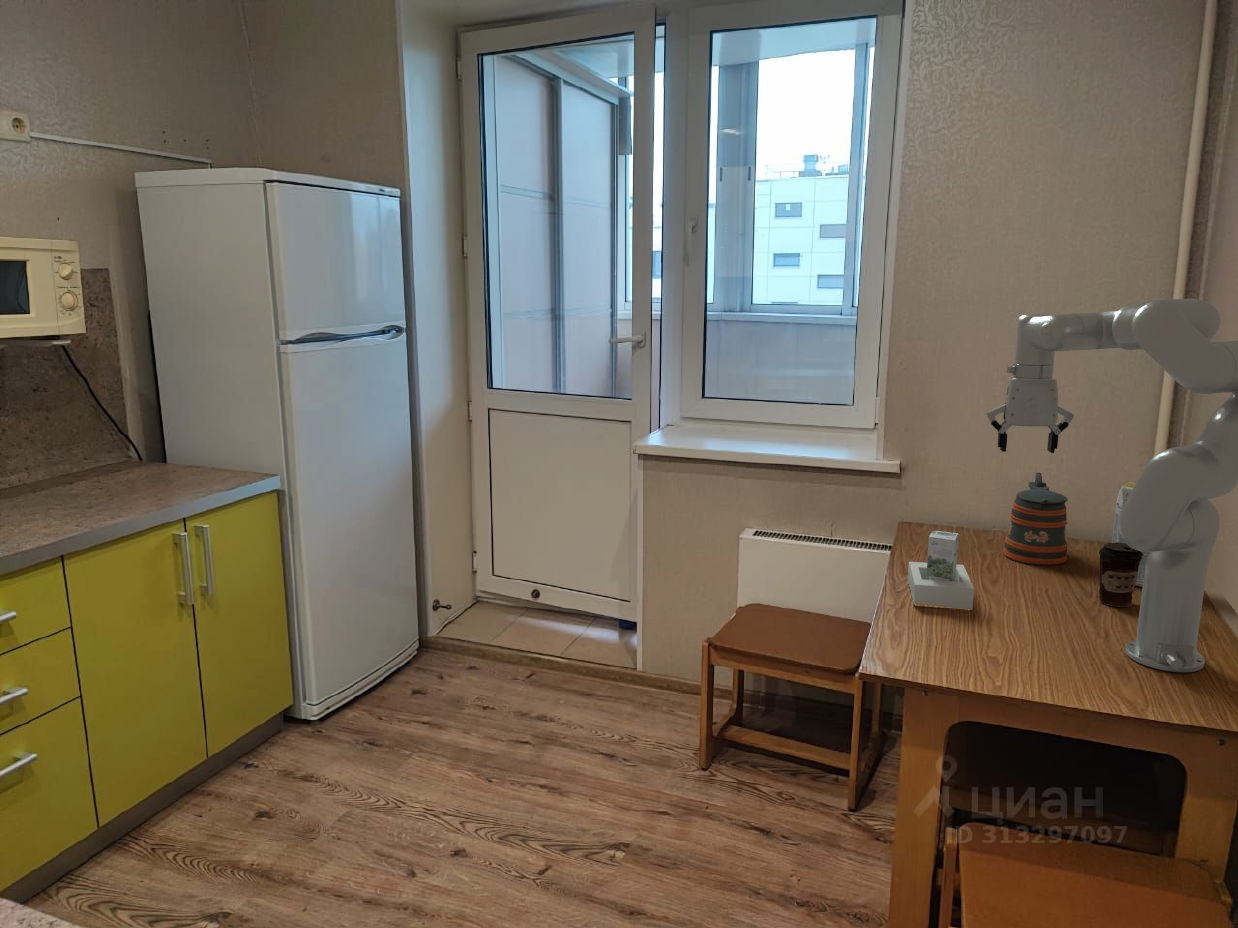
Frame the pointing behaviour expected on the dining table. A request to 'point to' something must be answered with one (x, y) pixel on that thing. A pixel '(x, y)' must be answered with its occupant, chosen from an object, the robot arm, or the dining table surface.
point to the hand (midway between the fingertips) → (1026, 451)
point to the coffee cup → (1118, 573)
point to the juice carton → (1121, 500)
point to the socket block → (940, 588)
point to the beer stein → (1037, 526)
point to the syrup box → (942, 556)
